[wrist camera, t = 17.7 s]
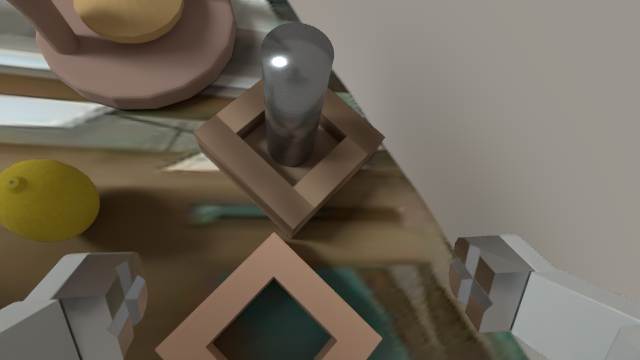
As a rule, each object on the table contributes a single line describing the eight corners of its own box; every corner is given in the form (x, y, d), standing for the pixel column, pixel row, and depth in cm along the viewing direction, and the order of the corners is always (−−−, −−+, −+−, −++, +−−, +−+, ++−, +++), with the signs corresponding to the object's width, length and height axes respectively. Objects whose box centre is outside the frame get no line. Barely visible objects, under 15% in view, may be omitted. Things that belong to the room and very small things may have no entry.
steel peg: (291, 176, 30) (299, 95, 19) (257, 145, 30) (245, 49, 19) (322, 145, 31) (348, 53, 20) (289, 116, 32) (296, 11, 21)
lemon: (122, 184, 30) (73, 144, 22) (107, 251, 28) (48, 230, 21) (52, 180, 29) (-23, 137, 22) (31, 248, 27) (-58, 226, 20)
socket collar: (272, 462, 25) (271, 482, 22) (167, 345, 26) (154, 349, 24) (371, 335, 28) (382, 338, 26) (274, 239, 30) (274, 231, 27)
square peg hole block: (290, 238, 30) (293, 229, 26) (202, 152, 32) (193, 132, 28) (372, 156, 34) (385, 137, 30) (289, 82, 35) (291, 55, 32)
